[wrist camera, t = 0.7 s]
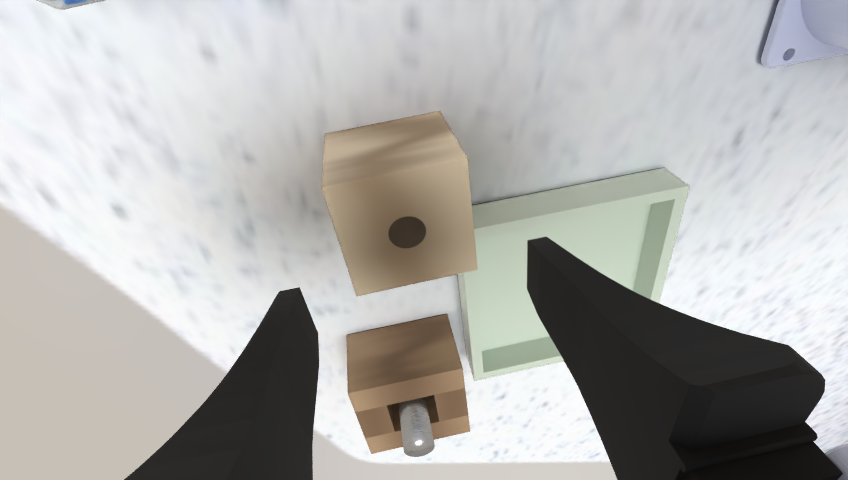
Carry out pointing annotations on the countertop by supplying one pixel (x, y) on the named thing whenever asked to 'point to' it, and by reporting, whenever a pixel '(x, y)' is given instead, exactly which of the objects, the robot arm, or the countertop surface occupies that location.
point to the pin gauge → (415, 427)
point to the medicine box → (67, 3)
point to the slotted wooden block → (406, 379)
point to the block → (400, 202)
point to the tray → (578, 234)
